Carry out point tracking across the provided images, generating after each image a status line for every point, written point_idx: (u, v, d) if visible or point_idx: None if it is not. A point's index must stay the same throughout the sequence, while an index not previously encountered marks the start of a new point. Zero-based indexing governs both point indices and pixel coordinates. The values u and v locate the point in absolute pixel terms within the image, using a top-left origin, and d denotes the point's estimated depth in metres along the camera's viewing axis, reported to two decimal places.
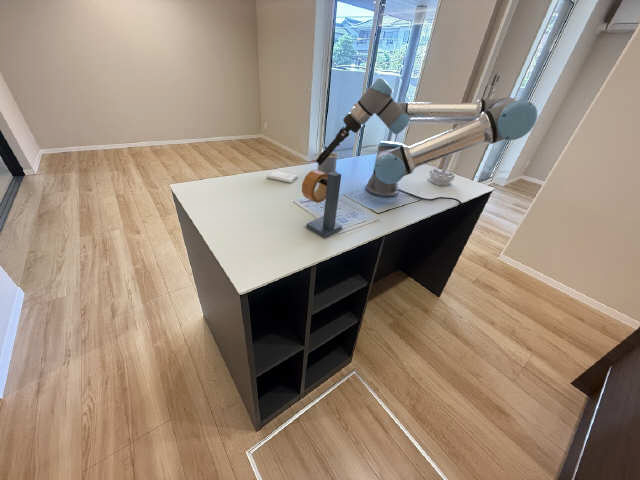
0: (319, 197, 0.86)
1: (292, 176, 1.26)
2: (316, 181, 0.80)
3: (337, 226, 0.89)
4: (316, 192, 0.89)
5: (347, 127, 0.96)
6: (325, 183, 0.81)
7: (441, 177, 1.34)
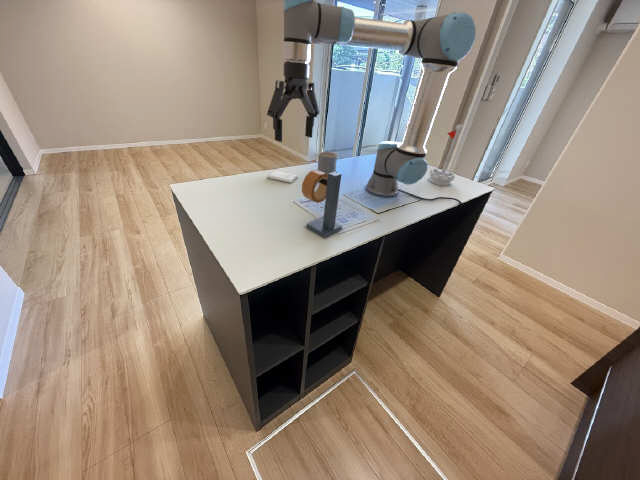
0: (319, 197, 0.86)
1: (292, 176, 1.26)
2: (316, 181, 0.80)
3: (337, 226, 0.89)
4: (316, 192, 0.89)
5: (285, 77, 0.72)
6: (325, 183, 0.81)
7: (441, 177, 1.34)
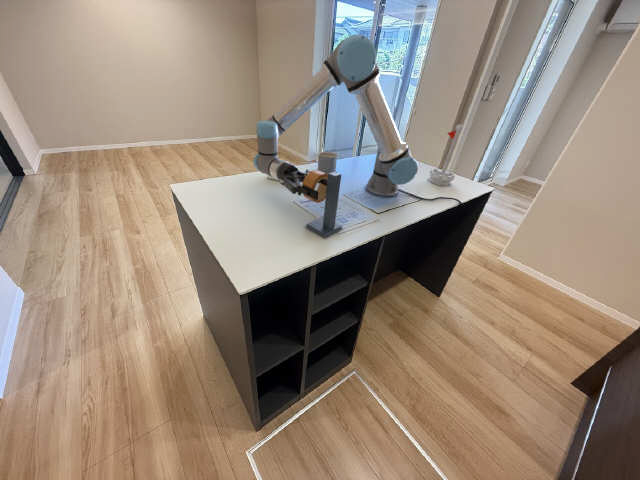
0: (319, 197, 0.86)
1: None
2: (316, 181, 0.80)
3: (337, 226, 0.89)
4: None
5: None
6: (325, 183, 0.81)
7: (441, 177, 1.34)
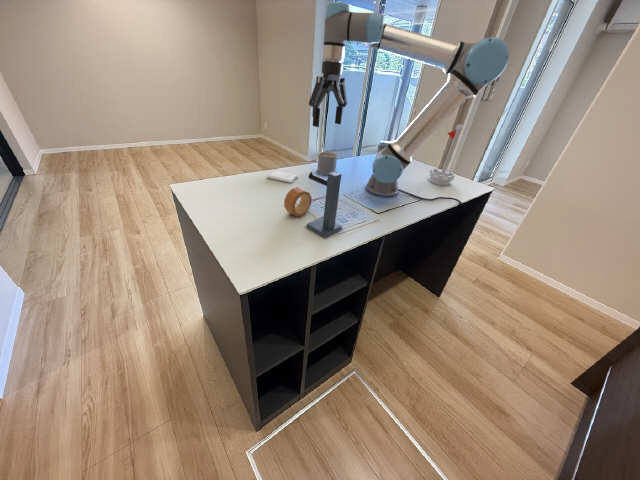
0: (300, 211, 0.96)
1: (292, 176, 1.26)
2: (296, 198, 0.90)
3: (337, 226, 0.89)
4: (298, 206, 0.99)
5: (324, 73, 0.90)
6: (325, 183, 0.81)
7: (441, 177, 1.34)
